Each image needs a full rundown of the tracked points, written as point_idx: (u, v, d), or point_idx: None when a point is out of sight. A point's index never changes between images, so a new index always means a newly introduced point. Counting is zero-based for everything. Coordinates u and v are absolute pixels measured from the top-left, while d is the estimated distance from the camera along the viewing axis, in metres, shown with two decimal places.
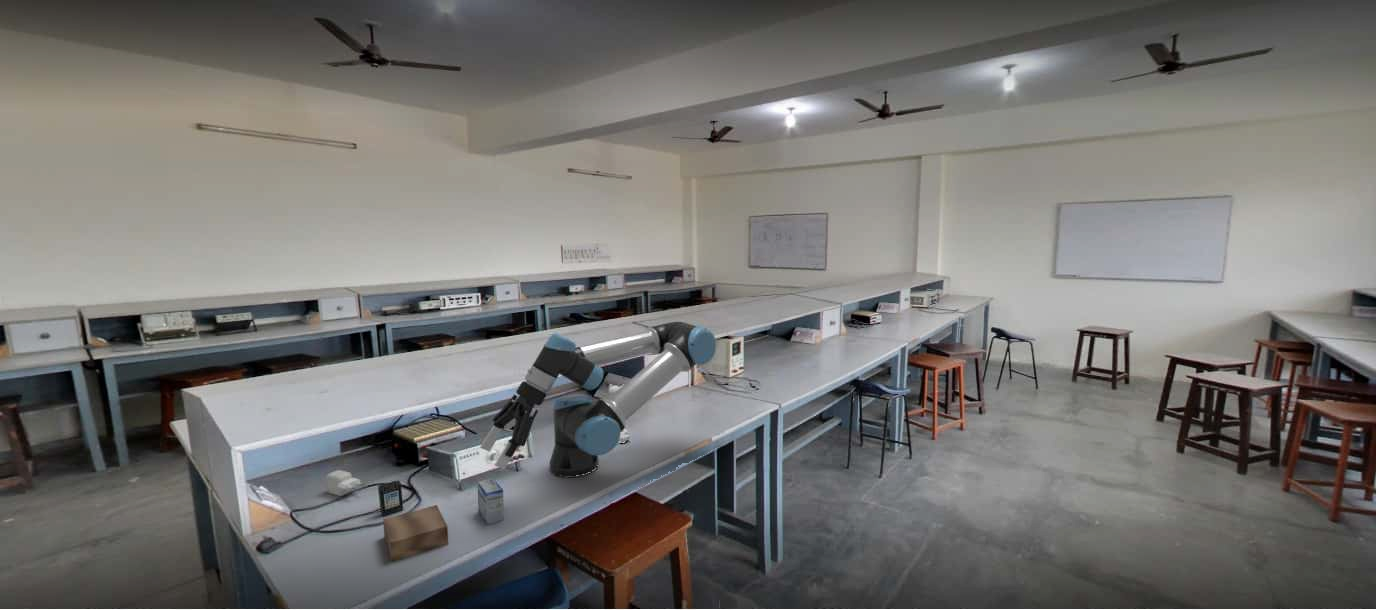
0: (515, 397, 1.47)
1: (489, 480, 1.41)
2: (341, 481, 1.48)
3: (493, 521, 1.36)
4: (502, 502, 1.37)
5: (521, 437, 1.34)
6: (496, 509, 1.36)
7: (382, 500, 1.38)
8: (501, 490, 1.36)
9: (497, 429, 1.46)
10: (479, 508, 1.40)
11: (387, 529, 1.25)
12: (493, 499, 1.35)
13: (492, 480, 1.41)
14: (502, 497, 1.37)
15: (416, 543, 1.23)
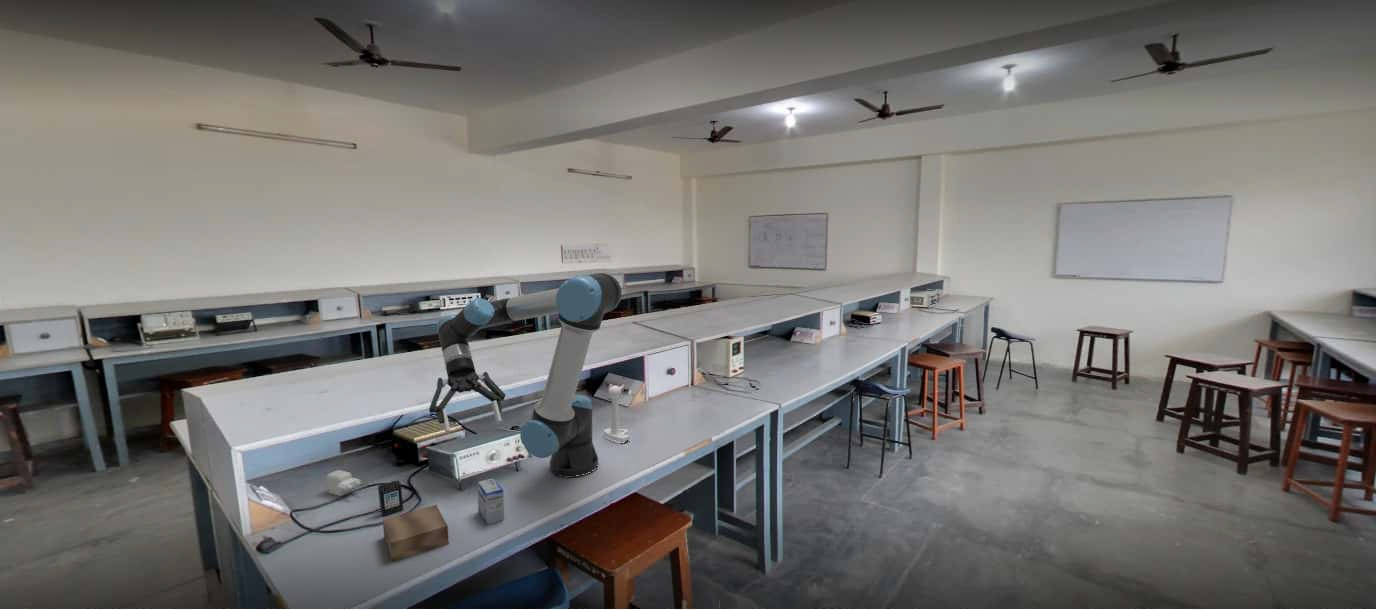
0: None
1: (489, 480, 1.41)
2: (341, 481, 1.48)
3: (493, 521, 1.36)
4: (502, 502, 1.37)
5: None
6: (496, 509, 1.36)
7: (382, 500, 1.38)
8: (501, 490, 1.36)
9: (493, 404, 1.53)
10: (479, 508, 1.40)
11: (387, 529, 1.24)
12: (493, 499, 1.35)
13: (492, 480, 1.41)
14: (502, 497, 1.37)
15: (417, 543, 1.23)
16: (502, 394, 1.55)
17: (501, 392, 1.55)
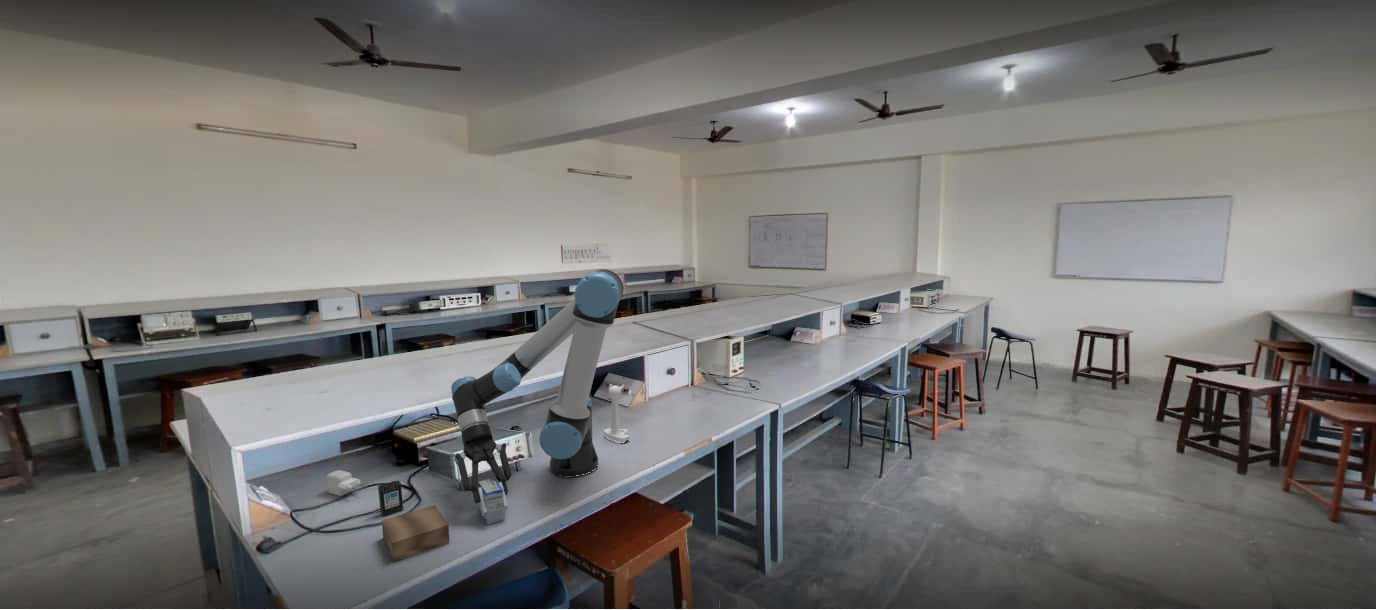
0: None
1: (489, 480, 1.41)
2: (341, 481, 1.48)
3: (493, 521, 1.36)
4: (501, 502, 1.37)
5: (463, 484, 1.37)
6: (496, 509, 1.36)
7: (382, 500, 1.38)
8: (501, 490, 1.36)
9: None
10: (479, 508, 1.40)
11: (387, 530, 1.24)
12: (493, 498, 1.35)
13: (492, 480, 1.41)
14: (502, 497, 1.37)
15: (418, 543, 1.23)
16: (508, 473, 1.42)
17: (508, 471, 1.42)
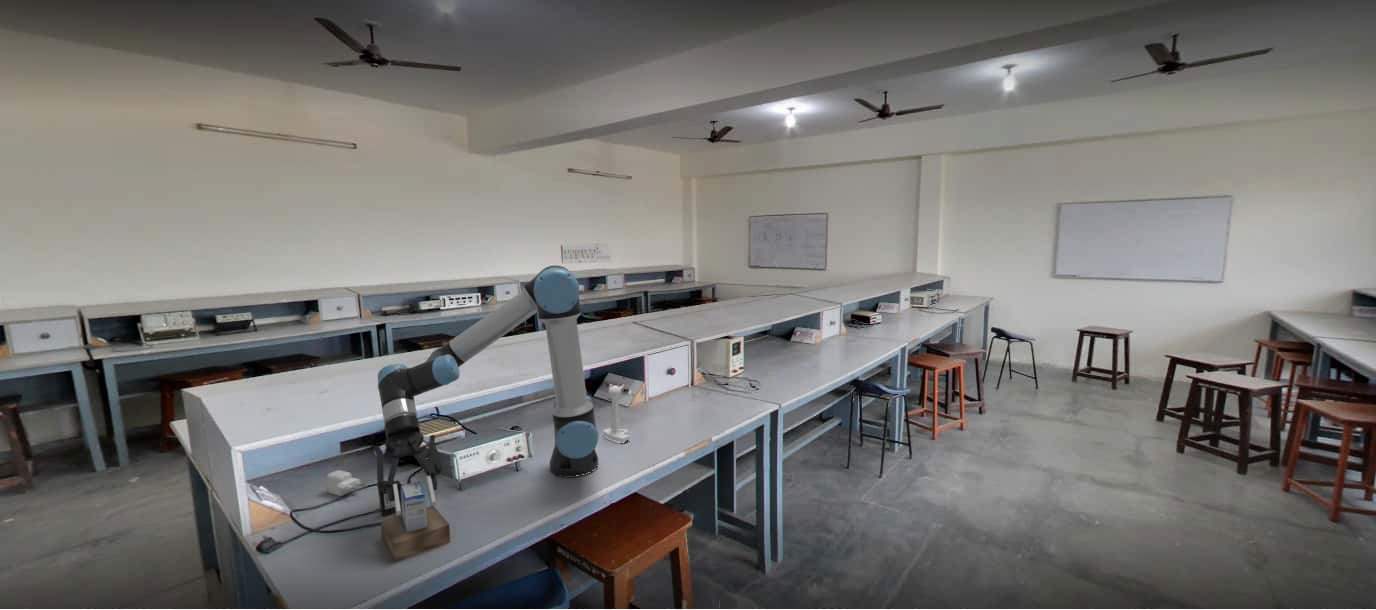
0: None
1: (414, 483, 1.29)
2: (341, 481, 1.48)
3: (414, 529, 1.24)
4: (424, 508, 1.25)
5: (377, 480, 1.24)
6: (417, 515, 1.24)
7: (382, 500, 1.38)
8: (423, 495, 1.24)
9: (427, 480, 1.29)
10: (402, 514, 1.28)
11: (387, 531, 1.24)
12: (414, 504, 1.23)
13: (417, 483, 1.29)
14: (424, 502, 1.25)
15: (419, 543, 1.23)
16: (439, 467, 1.31)
17: (438, 464, 1.31)
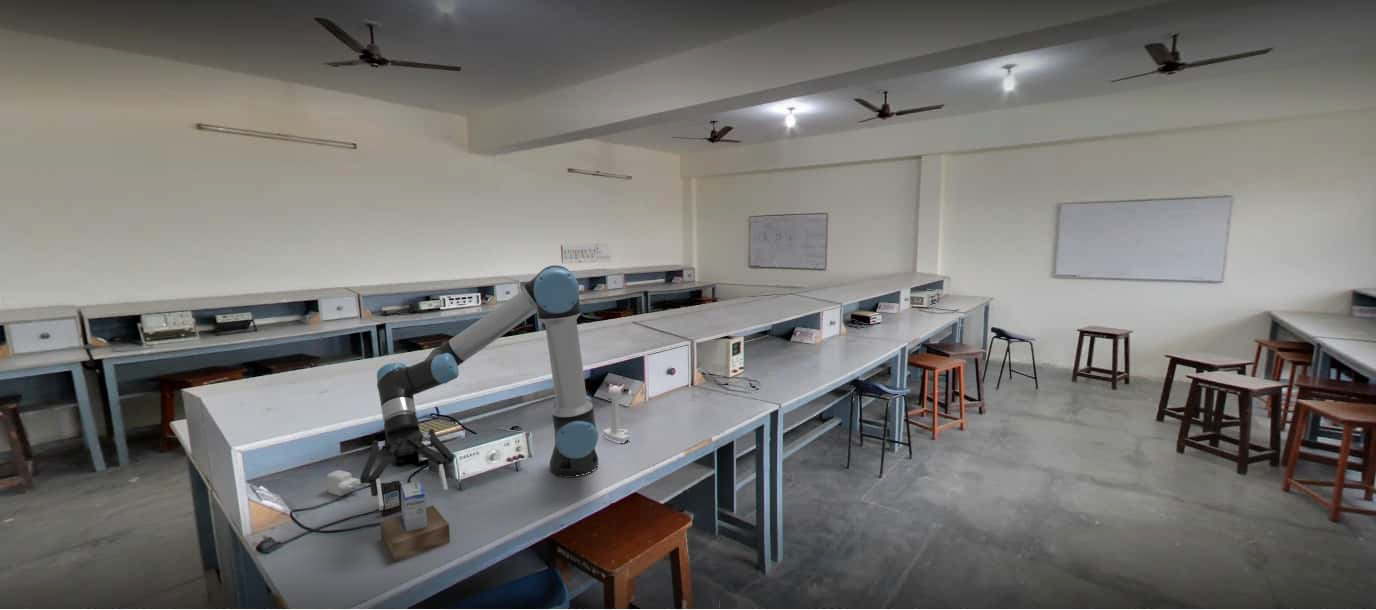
0: None
1: (414, 483, 1.29)
2: (341, 481, 1.48)
3: (413, 528, 1.24)
4: (423, 508, 1.25)
5: None
6: (417, 515, 1.24)
7: None
8: (423, 494, 1.24)
9: (439, 468, 1.32)
10: (402, 513, 1.28)
11: (387, 531, 1.24)
12: (414, 504, 1.23)
13: (417, 483, 1.29)
14: (424, 502, 1.25)
15: (419, 543, 1.23)
16: (450, 456, 1.33)
17: (449, 454, 1.34)
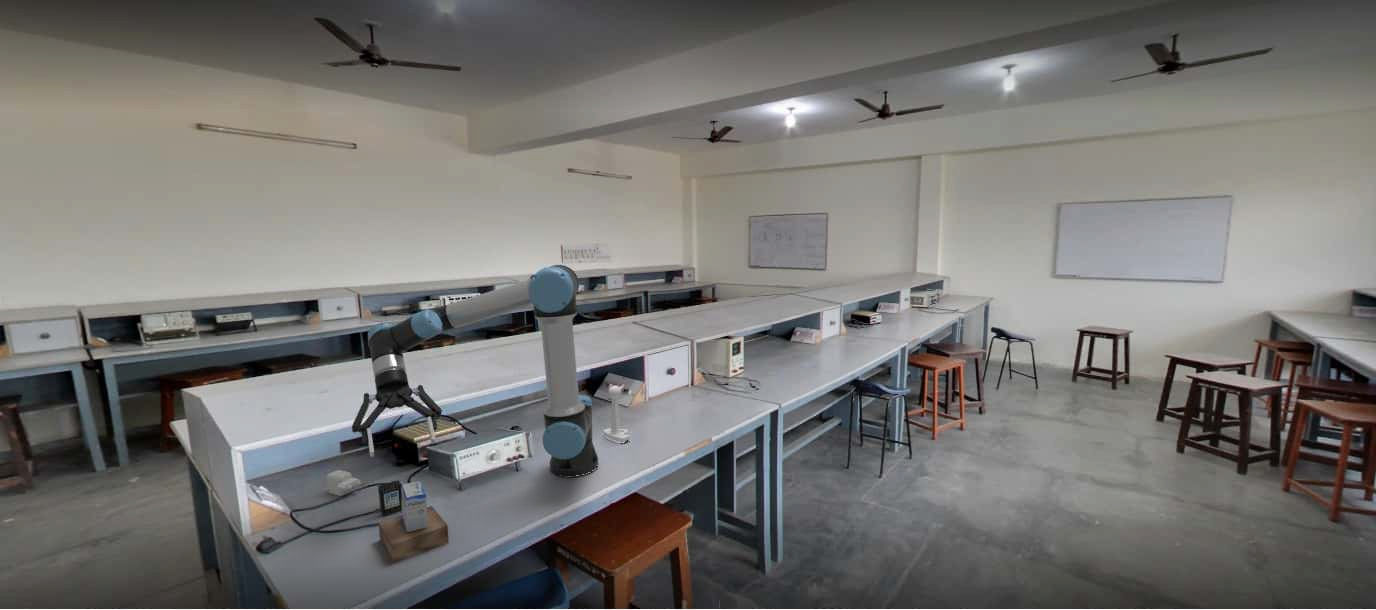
0: None
1: (415, 483, 1.29)
2: (341, 481, 1.48)
3: (414, 529, 1.24)
4: (424, 508, 1.25)
5: None
6: (418, 515, 1.24)
7: (382, 500, 1.38)
8: (424, 495, 1.24)
9: (427, 420, 1.39)
10: (402, 513, 1.28)
11: (385, 532, 1.24)
12: (415, 504, 1.23)
13: (418, 483, 1.29)
14: (425, 502, 1.25)
15: (418, 544, 1.23)
16: (438, 409, 1.40)
17: (437, 408, 1.41)
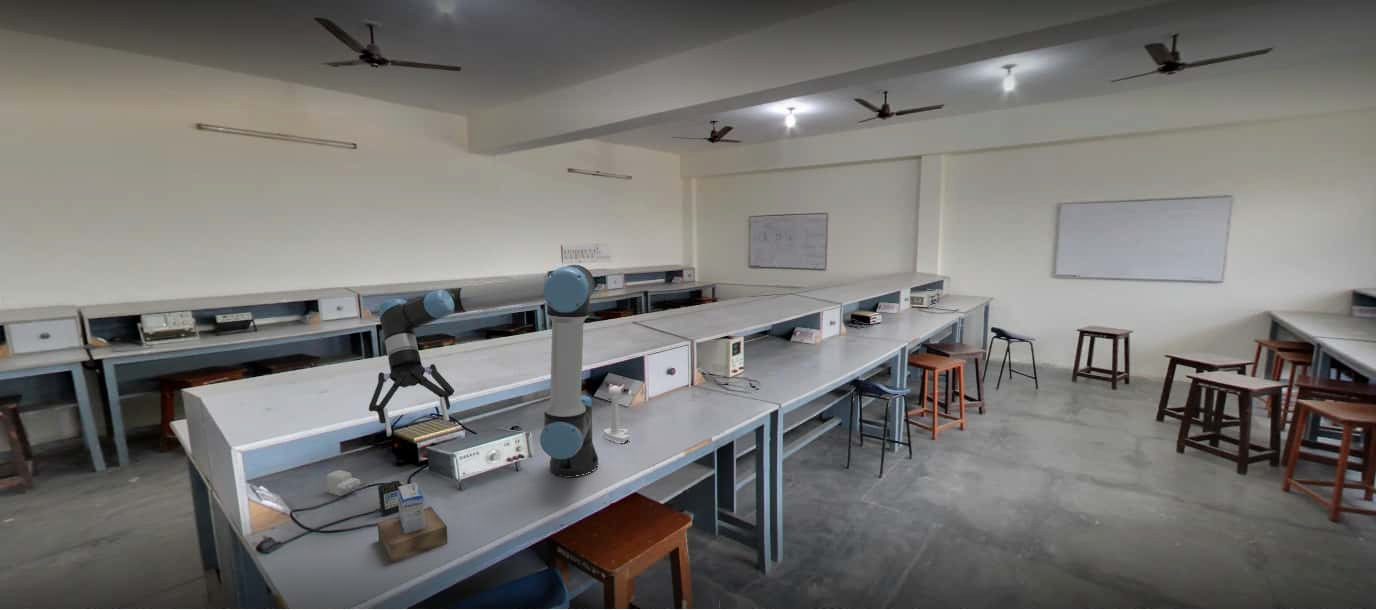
0: None
1: (411, 485, 1.29)
2: (341, 481, 1.48)
3: (411, 530, 1.24)
4: (421, 509, 1.24)
5: None
6: (415, 517, 1.24)
7: (382, 500, 1.38)
8: (420, 496, 1.24)
9: (440, 400, 1.44)
10: (399, 515, 1.28)
11: (384, 532, 1.23)
12: (411, 505, 1.23)
13: (414, 485, 1.29)
14: (422, 504, 1.24)
15: (417, 544, 1.22)
16: (450, 389, 1.45)
17: (449, 388, 1.45)
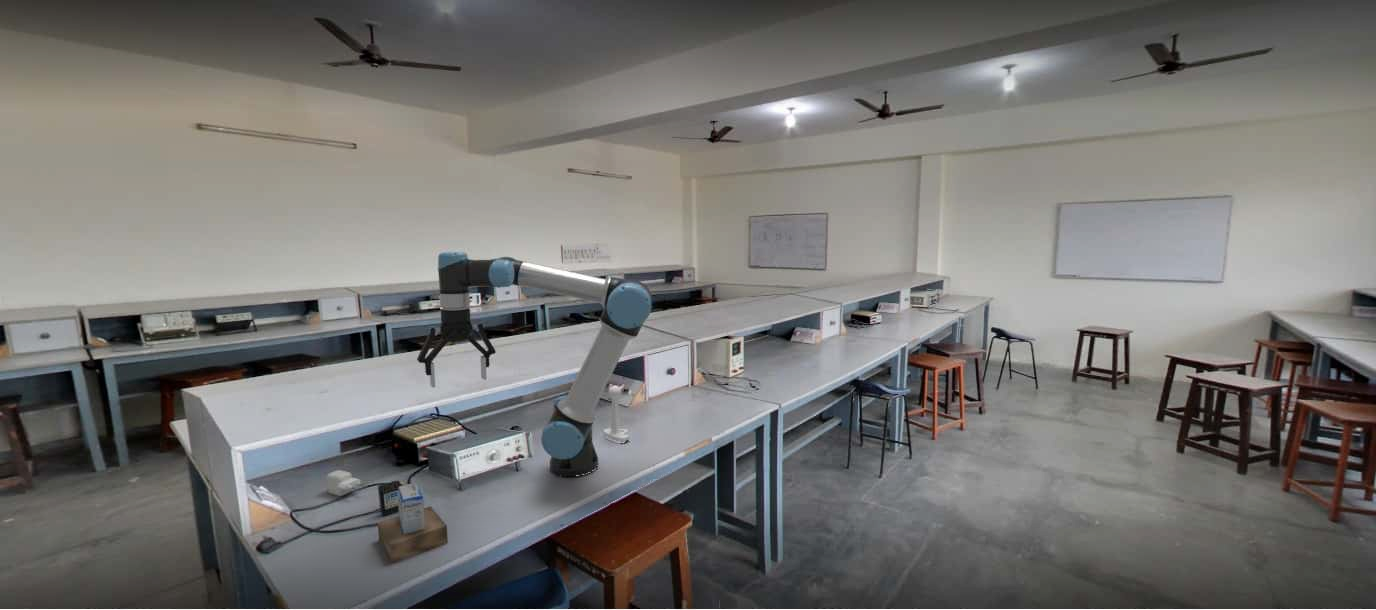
0: None
1: (411, 485, 1.28)
2: (341, 481, 1.48)
3: (411, 530, 1.23)
4: (421, 510, 1.24)
5: (419, 355, 1.43)
6: (414, 517, 1.23)
7: (382, 500, 1.38)
8: (420, 496, 1.24)
9: (481, 358, 1.53)
10: (399, 515, 1.27)
11: (384, 532, 1.23)
12: (411, 506, 1.23)
13: (415, 485, 1.28)
14: (422, 504, 1.24)
15: (417, 544, 1.22)
16: (492, 351, 1.53)
17: (492, 349, 1.53)
